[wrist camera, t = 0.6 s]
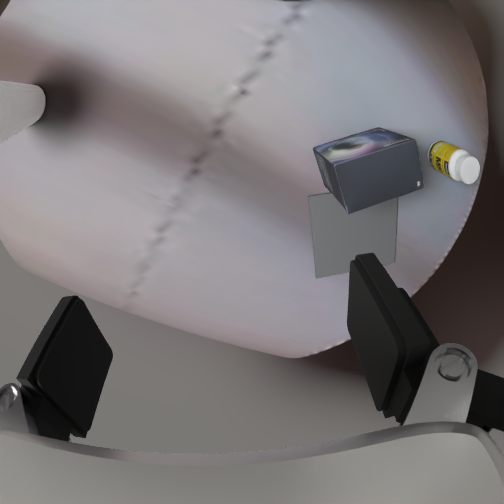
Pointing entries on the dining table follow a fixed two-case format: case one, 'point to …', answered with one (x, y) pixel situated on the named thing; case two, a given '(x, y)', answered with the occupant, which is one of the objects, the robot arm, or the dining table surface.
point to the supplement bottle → (453, 162)
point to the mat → (350, 233)
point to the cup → (19, 107)
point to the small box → (369, 168)
